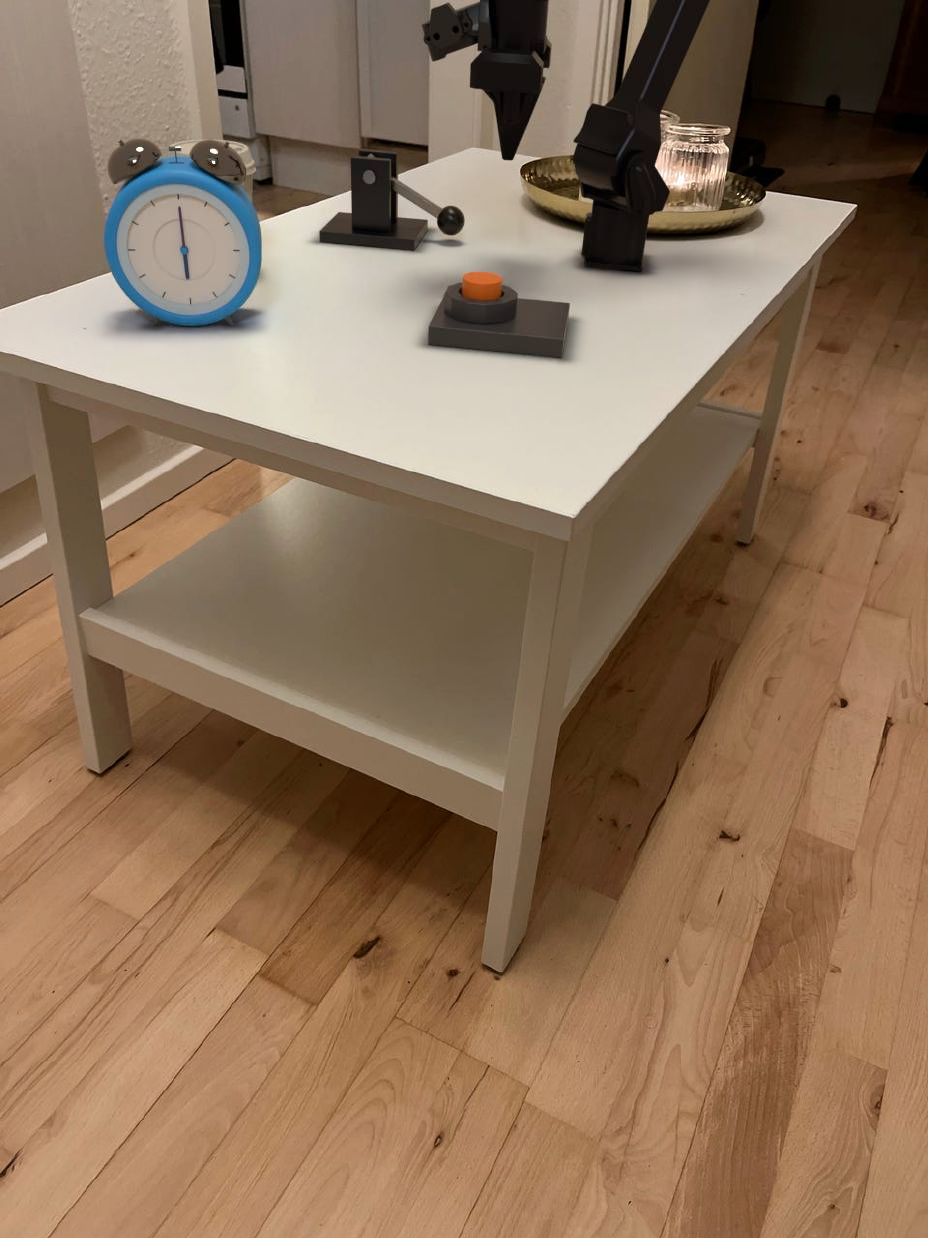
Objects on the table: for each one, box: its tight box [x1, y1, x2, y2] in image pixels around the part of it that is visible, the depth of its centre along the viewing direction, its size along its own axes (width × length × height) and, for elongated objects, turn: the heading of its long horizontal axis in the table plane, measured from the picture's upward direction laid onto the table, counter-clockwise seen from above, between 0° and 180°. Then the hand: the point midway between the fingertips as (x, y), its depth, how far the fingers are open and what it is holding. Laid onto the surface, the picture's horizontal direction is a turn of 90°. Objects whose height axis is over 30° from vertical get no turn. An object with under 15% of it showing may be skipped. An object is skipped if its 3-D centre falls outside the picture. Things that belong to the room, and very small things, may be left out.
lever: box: [367, 154, 466, 237], centre depth 113 cm, size 13×3×3 cm, turn 82°
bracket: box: [318, 148, 429, 251], centre depth 113 cm, size 11×9×9 cm
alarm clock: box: [103, 137, 263, 327], centre depth 86 cm, size 13×6×15 cm, turn 100°
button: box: [461, 271, 503, 300], centre depth 89 cm, size 4×4×2 cm
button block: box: [427, 281, 571, 358], centre depth 91 cm, size 12×10×4 cm
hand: (507, 159), depth 97 cm, fingers closed
